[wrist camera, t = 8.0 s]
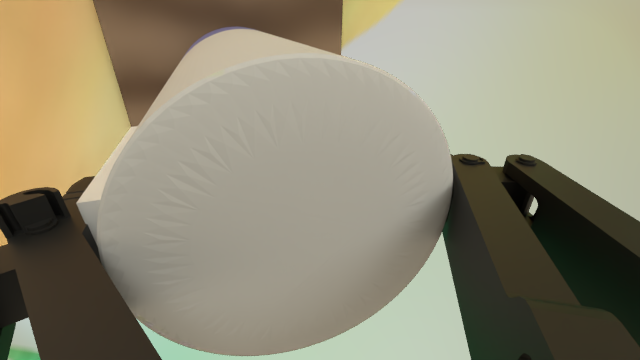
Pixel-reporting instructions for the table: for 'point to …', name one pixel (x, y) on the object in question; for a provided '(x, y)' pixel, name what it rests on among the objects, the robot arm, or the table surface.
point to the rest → (199, 35)
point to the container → (272, 196)
